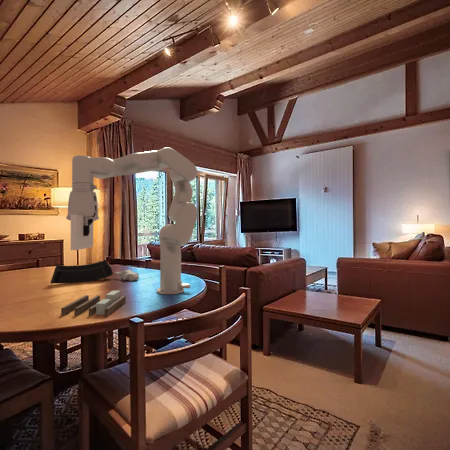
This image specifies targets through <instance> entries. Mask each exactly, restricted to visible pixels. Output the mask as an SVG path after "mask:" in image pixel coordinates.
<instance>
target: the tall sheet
mask: <svg viewBox="0 0 450 450" xmlns="http://www.w3.org/2000/svg"><path fill="white" fill-rule="evenodd" d="M91 218H93V217H91ZM83 226H85V217H83V215H71V221H70V251H79V250H83V249H84V250H85V249H90V248H94V222H93V223H92V224H91V225H90V233H89V236H84V235H83Z"/></svg>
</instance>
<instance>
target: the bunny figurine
mask: <svg viewBox="0 0 450 450" xmlns="http://www.w3.org/2000/svg"><path fill="white" fill-rule="evenodd" d="M114 275H117V276H120V277H121V279H122V280H123V281H126V280H127V281H129V282H134V281H138V280H139V279H140V276H139V273H138V272H134V271H133V270H132V269H127V270H122V271H121V272H119V271H114Z"/></svg>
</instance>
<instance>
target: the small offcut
mask: <svg viewBox="0 0 450 450" xmlns="http://www.w3.org/2000/svg"><path fill="white" fill-rule="evenodd" d="M109 305H111V299H105V298H102V299H100V301H99V302H98V303H96V313H95V315H97V316H99V315H101V316H102V315H103V316H105V308H107V307H108V306H109Z"/></svg>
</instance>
